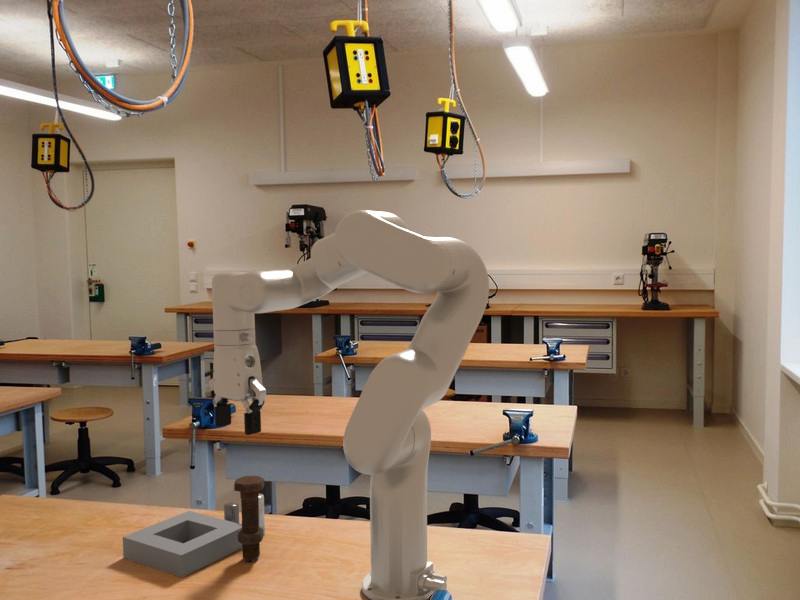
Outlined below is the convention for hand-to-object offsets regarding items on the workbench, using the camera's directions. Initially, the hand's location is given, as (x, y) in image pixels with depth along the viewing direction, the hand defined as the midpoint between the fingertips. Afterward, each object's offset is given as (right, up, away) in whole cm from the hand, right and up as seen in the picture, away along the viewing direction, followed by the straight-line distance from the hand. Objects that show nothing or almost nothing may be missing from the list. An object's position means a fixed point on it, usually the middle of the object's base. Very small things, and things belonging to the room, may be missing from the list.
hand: (237, 429), depth 136 cm
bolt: (+3, -24, -1) cm, 24 cm away
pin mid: (+2, -23, +10) cm, 25 cm away
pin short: (-4, -23, +14) cm, 27 cm away
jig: (-10, -24, +2) cm, 26 cm away
